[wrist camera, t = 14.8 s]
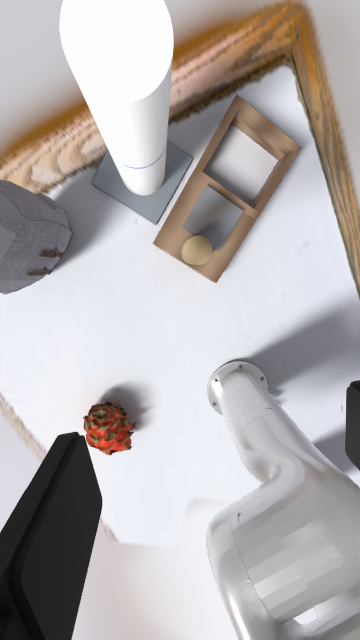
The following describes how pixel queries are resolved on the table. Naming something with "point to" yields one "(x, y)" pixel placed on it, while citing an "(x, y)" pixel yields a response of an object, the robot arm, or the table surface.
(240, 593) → the robot arm
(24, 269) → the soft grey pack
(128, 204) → the mat
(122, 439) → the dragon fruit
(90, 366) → the table surface
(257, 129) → the wooden divided tray
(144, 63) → the cylindrical container
